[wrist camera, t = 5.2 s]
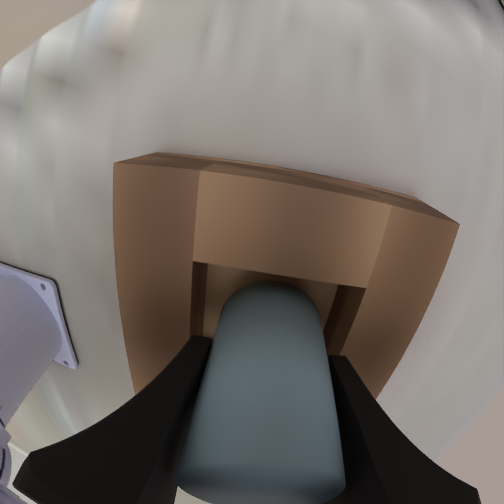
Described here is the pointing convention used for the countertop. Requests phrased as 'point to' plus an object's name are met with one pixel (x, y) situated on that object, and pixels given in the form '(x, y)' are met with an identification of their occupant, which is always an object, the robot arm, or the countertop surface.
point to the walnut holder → (270, 256)
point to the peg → (264, 406)
